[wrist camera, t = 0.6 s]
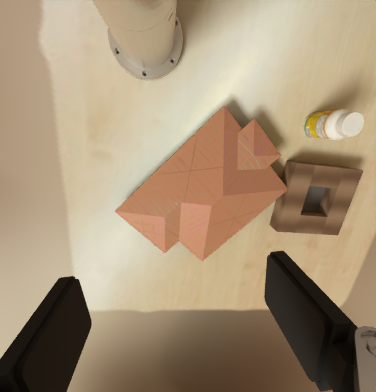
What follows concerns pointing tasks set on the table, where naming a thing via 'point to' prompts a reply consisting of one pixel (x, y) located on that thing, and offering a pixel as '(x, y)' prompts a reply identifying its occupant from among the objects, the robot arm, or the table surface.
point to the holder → (314, 198)
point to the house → (207, 187)
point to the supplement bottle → (333, 124)
